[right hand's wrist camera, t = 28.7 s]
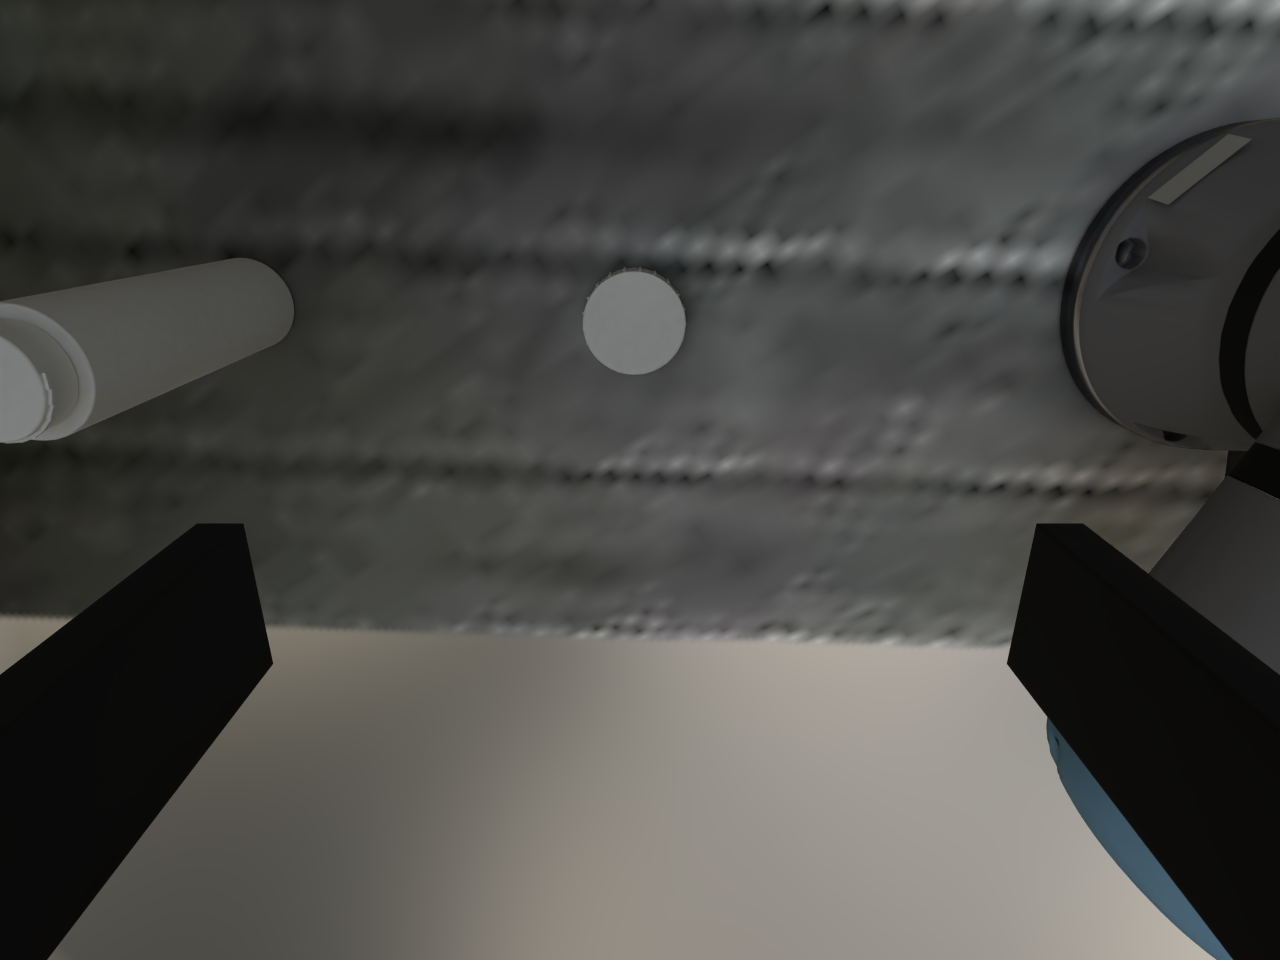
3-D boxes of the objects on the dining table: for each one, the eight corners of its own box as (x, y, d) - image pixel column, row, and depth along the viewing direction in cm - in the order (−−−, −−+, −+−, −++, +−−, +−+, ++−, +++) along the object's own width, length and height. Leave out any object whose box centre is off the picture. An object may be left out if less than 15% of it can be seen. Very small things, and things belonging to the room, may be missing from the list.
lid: (706, 307, 38) (709, 313, 36) (645, 387, 39) (645, 396, 37) (623, 244, 36) (622, 247, 35) (564, 329, 38) (560, 336, 36)
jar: (217, 350, 38) (-62, 461, 23) (193, 260, 37) (-124, 315, 22) (303, 345, 38) (80, 452, 23) (283, 254, 37) (28, 305, 21)
